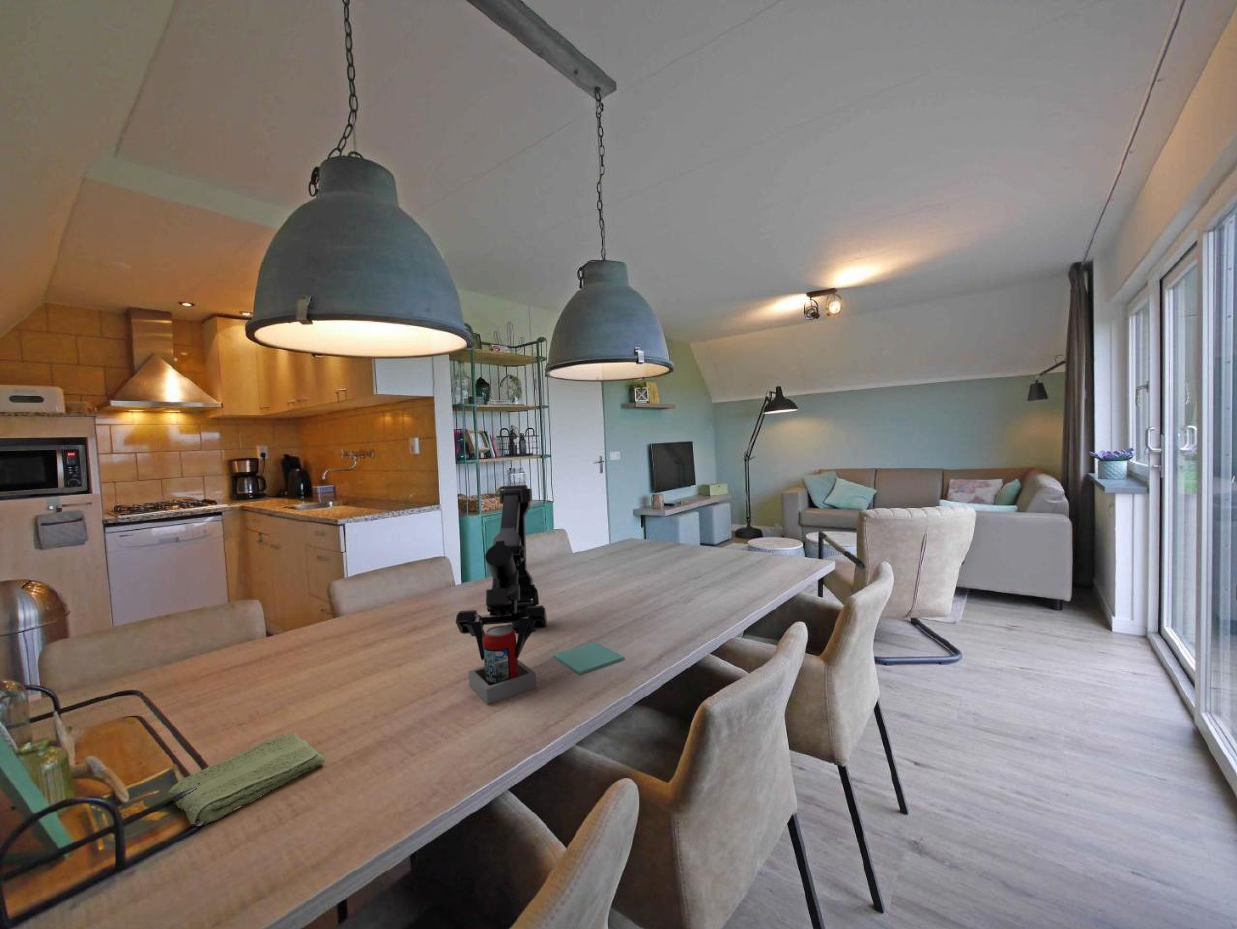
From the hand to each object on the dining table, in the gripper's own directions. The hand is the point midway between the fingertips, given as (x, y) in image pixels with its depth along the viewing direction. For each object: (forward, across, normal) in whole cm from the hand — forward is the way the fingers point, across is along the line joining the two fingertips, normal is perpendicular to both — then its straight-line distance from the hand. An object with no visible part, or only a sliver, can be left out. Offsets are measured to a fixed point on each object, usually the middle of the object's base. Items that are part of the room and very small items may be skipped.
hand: (499, 658), depth 107 cm
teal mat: (-4, +18, +13) cm, 23 cm away
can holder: (+4, 0, +6) cm, 7 cm away
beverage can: (+4, 0, +6) cm, 7 cm away
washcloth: (+22, -35, -12) cm, 43 cm away
